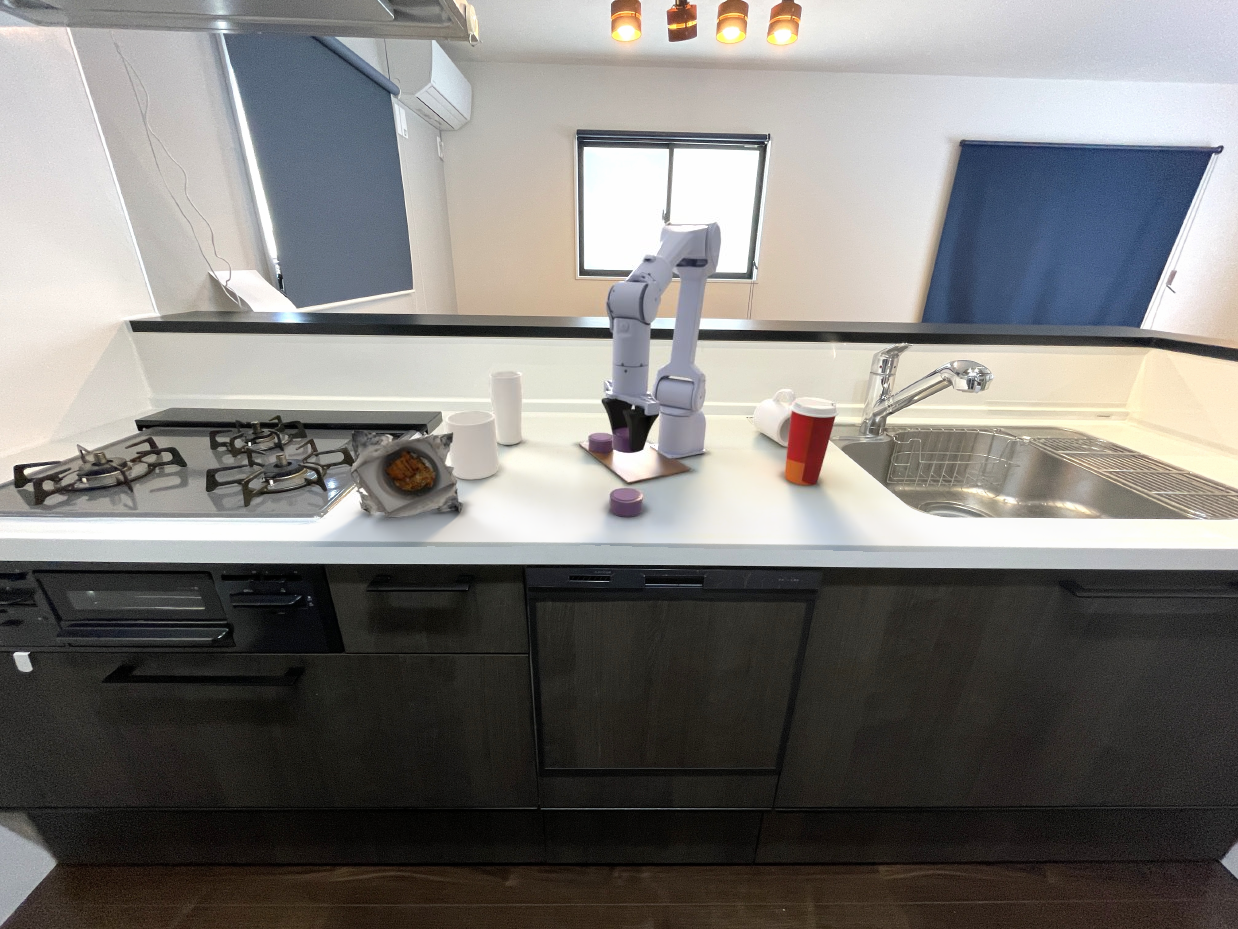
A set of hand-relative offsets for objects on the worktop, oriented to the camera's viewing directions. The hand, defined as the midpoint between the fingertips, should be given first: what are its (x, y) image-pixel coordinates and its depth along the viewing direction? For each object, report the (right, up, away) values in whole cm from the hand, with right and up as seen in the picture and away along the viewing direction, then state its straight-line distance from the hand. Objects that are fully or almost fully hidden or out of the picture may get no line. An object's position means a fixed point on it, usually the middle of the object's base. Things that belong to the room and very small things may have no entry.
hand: (628, 444), depth 82 cm
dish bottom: (0, -11, -1) cm, 11 cm away
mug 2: (+35, +2, +31) cm, 47 cm away
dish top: (-5, 0, +22) cm, 23 cm away
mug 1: (-29, -4, +12) cm, 32 cm away
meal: (-34, -11, -4) cm, 36 cm away
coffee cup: (+33, -6, +12) cm, 36 cm away
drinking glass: (-26, +1, +26) cm, 36 cm away
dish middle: (0, -1, 0) cm, 1 cm away
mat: (+1, -2, +19) cm, 19 cm away
